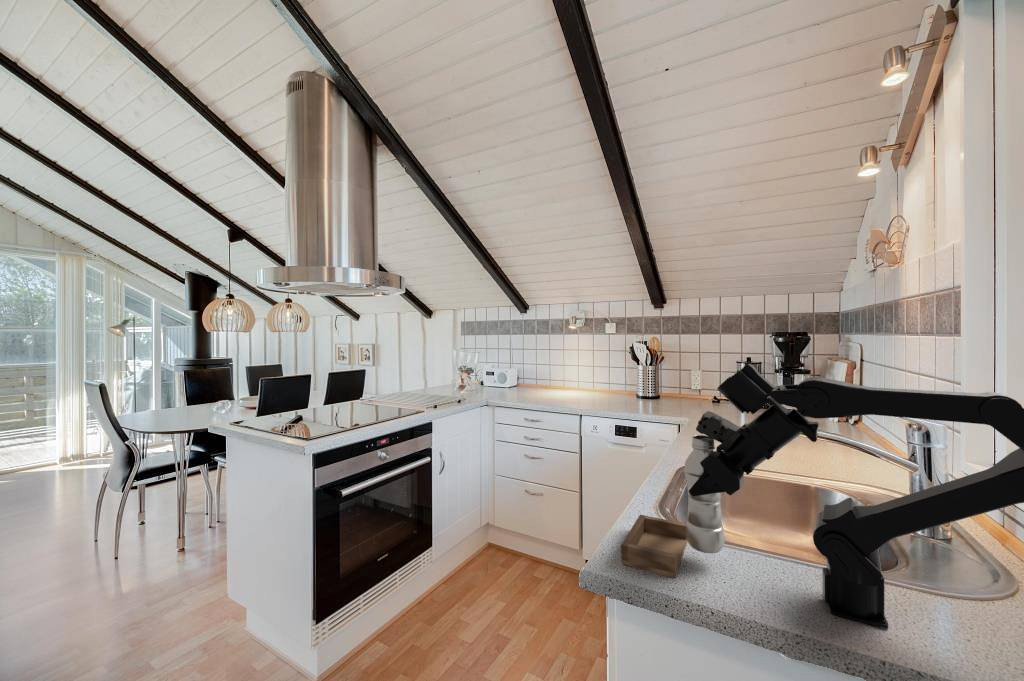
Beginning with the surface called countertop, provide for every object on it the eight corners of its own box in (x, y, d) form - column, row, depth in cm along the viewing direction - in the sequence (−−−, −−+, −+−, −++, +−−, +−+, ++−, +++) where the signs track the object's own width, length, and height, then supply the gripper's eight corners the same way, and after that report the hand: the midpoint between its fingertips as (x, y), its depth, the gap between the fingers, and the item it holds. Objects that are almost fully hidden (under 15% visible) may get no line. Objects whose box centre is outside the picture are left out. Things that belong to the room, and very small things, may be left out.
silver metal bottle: (689, 556, 73) (686, 441, 72) (682, 537, 79) (680, 432, 79) (729, 560, 71) (727, 443, 71) (719, 541, 78) (718, 433, 78)
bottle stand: (687, 541, 84) (687, 523, 84) (675, 578, 71) (675, 557, 71) (640, 531, 88) (640, 514, 88) (621, 564, 76) (621, 544, 76)
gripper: (737, 391, 80) (678, 441, 87) (713, 406, 65) (645, 464, 72) (787, 438, 75) (720, 487, 82) (773, 465, 61) (694, 521, 67)
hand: (695, 488), depth 76 cm, fingers closed on silver metal bottle, 6 cm apart
